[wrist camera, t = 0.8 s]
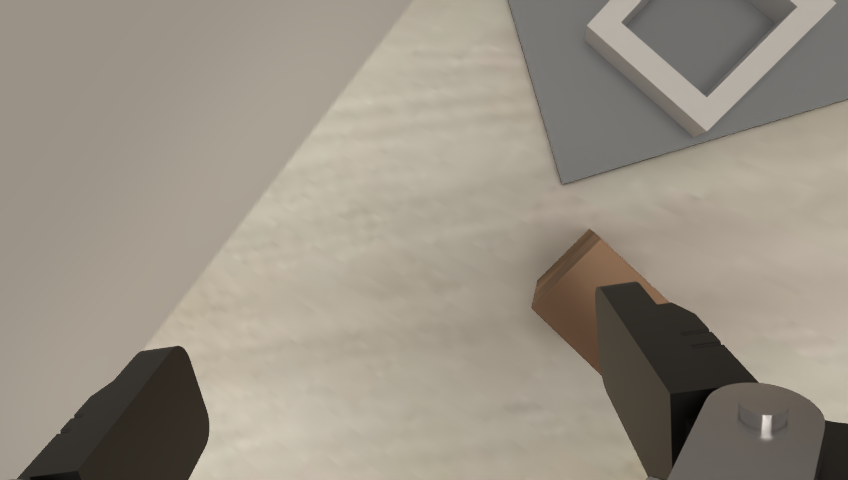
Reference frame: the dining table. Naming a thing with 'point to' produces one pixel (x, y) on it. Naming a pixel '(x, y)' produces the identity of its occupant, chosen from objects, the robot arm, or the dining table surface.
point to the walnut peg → (583, 292)
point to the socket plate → (687, 47)
